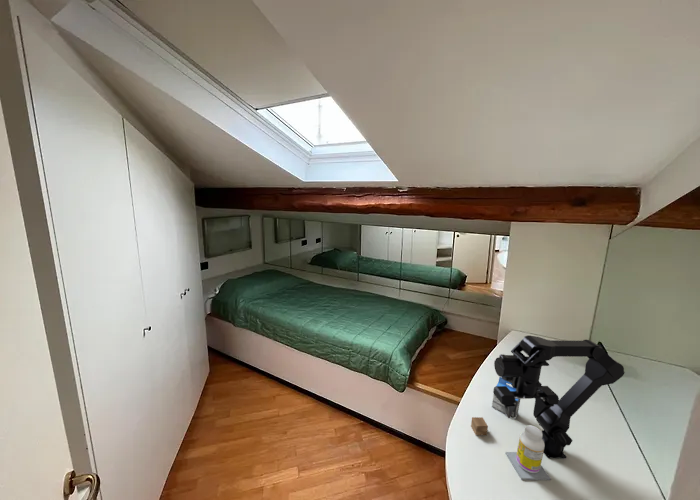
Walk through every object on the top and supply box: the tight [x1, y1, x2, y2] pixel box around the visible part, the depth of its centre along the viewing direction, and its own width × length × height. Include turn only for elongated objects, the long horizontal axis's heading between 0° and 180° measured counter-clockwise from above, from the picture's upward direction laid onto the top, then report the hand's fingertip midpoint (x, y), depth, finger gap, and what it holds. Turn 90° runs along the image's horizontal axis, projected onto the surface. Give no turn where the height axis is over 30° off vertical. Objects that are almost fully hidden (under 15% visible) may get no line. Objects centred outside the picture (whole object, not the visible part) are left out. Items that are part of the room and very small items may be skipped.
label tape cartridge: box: [491, 376, 521, 420], centre depth 115 cm, size 9×4×12 cm, turn 42°
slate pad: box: [505, 451, 551, 481], centre depth 93 cm, size 9×9×1 cm
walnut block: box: [470, 416, 489, 436], centre depth 106 cm, size 4×4×4 cm
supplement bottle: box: [516, 424, 545, 473], centre depth 92 cm, size 7×7×13 cm
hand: (521, 417), depth 96 cm, fingers open, 9 cm apart
